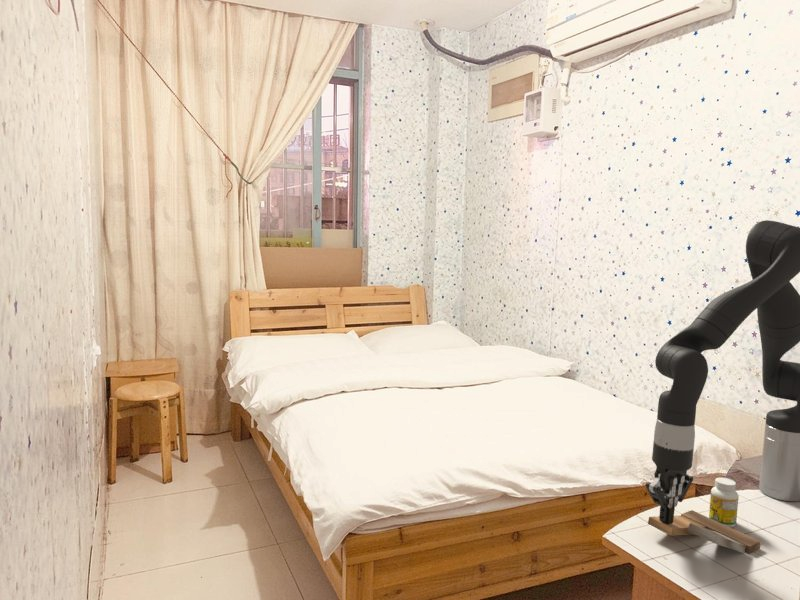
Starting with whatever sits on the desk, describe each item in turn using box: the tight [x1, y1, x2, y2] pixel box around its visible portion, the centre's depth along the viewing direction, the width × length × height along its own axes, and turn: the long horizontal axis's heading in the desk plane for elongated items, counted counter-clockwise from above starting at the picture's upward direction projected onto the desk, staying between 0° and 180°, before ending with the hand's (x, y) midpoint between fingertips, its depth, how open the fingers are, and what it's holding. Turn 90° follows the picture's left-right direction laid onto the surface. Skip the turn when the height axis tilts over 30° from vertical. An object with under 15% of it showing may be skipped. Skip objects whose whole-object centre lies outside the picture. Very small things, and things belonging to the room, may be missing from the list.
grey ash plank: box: [688, 523, 746, 554], centre depth 116 cm, size 12×6×2 cm, turn 120°
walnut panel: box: [680, 509, 761, 555], centre depth 124 cm, size 4×15×2 cm, turn 30°
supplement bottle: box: [708, 477, 739, 528], centre depth 129 cm, size 5×5×10 cm
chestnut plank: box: [647, 515, 706, 537], centre depth 123 cm, size 12×6×2 cm, turn 120°
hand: (666, 522), depth 121 cm, fingers closed
